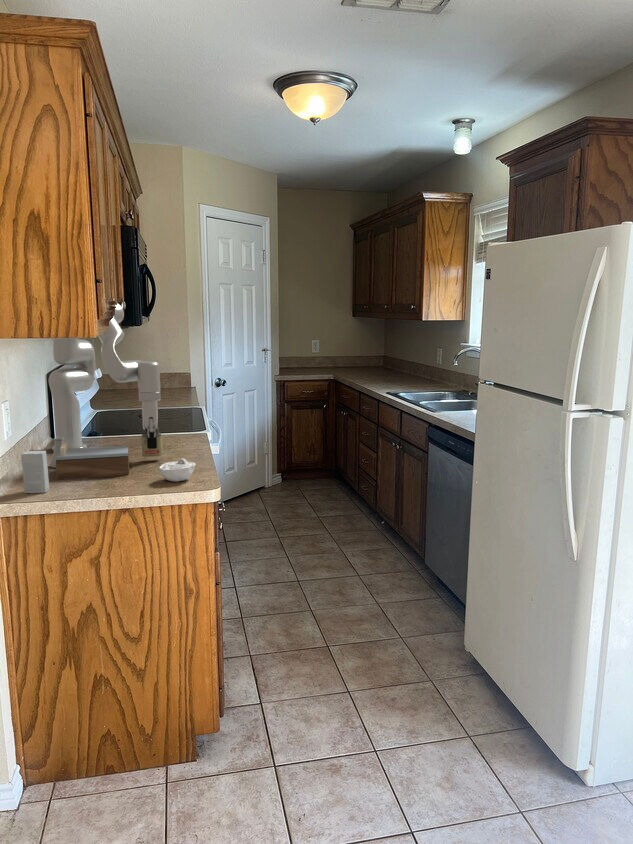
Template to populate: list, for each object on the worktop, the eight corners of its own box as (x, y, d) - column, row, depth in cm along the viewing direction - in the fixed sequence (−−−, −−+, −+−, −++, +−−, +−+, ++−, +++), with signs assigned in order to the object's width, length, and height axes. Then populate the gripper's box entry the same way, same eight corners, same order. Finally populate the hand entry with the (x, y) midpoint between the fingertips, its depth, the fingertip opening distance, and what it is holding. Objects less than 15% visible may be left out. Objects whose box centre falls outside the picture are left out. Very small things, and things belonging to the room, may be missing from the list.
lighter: (142, 457, 221) (140, 429, 219) (142, 455, 224) (140, 427, 223) (162, 456, 222) (161, 428, 221) (162, 454, 226) (161, 427, 224)
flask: (65, 462, 221) (63, 435, 219) (75, 465, 216) (74, 437, 214) (45, 466, 215) (43, 438, 213) (56, 469, 211) (54, 440, 209)
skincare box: (49, 489, 186) (46, 450, 184) (45, 493, 182) (42, 453, 180) (28, 490, 186) (25, 450, 184) (23, 494, 181) (20, 454, 179)
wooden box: (61, 469, 210) (60, 452, 209) (129, 465, 216) (128, 448, 215) (57, 479, 198) (55, 461, 197) (129, 474, 204) (128, 456, 203)
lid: (60, 451, 209) (59, 441, 209) (128, 448, 215) (128, 438, 214) (55, 460, 197) (54, 449, 196) (128, 455, 203) (127, 445, 202)
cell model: (152, 481, 196) (151, 460, 194) (183, 474, 205) (182, 454, 204) (172, 487, 189) (171, 465, 188) (202, 479, 198) (202, 458, 197)
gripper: (138, 394, 226) (141, 443, 230) (138, 399, 211) (141, 452, 214) (159, 393, 228) (162, 442, 232) (161, 399, 213) (163, 451, 216)
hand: (152, 446), depth 223 cm, fingers closed on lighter, 3 cm apart
